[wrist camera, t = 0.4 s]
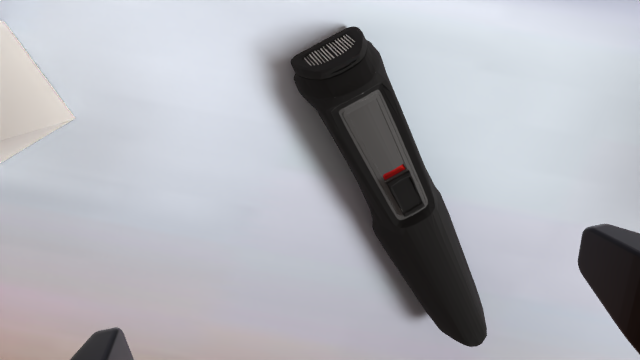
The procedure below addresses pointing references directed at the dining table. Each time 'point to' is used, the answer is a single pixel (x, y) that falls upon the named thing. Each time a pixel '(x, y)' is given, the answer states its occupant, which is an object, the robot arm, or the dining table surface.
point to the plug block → (25, 99)
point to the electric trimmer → (392, 178)
